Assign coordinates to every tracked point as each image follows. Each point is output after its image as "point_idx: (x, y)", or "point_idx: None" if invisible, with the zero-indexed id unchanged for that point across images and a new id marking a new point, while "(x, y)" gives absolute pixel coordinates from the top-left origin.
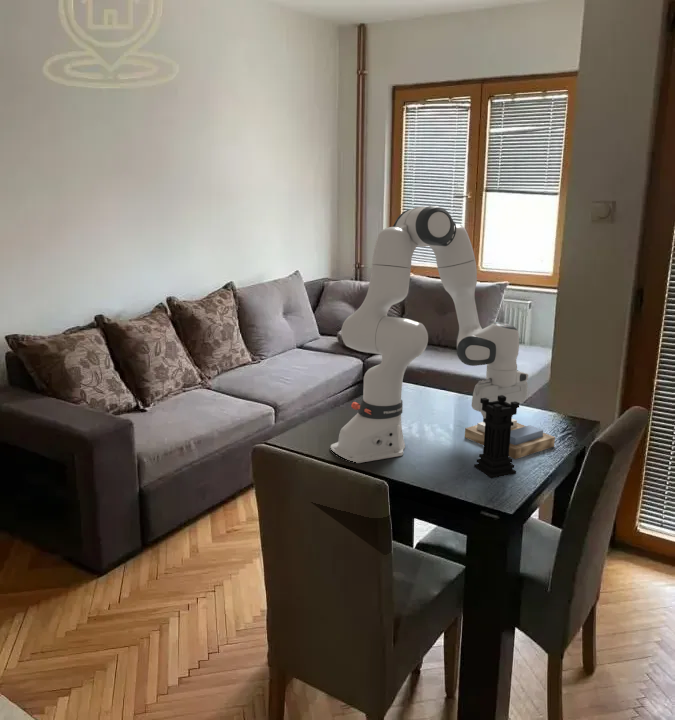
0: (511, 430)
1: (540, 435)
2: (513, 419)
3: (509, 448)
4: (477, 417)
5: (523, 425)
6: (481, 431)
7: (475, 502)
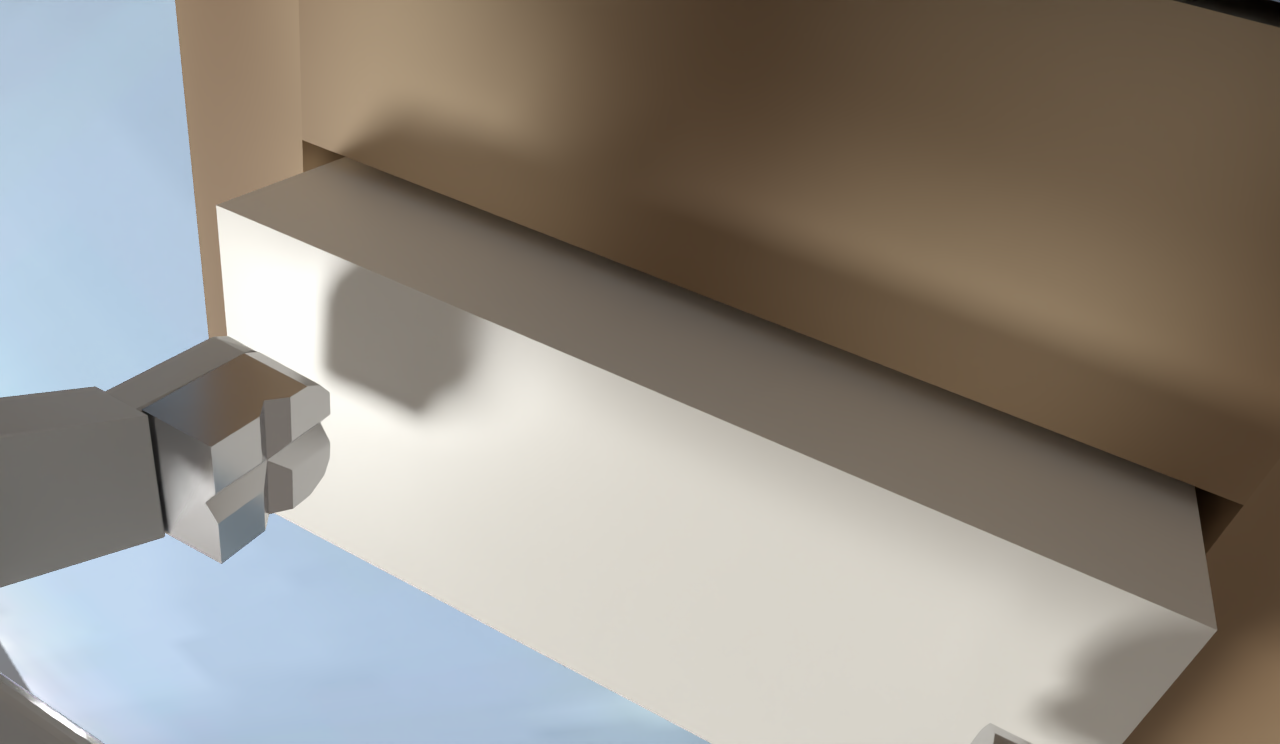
0: None
1: None
2: (236, 293)
3: None
4: (348, 706)
5: (192, 66)
6: None
7: None
